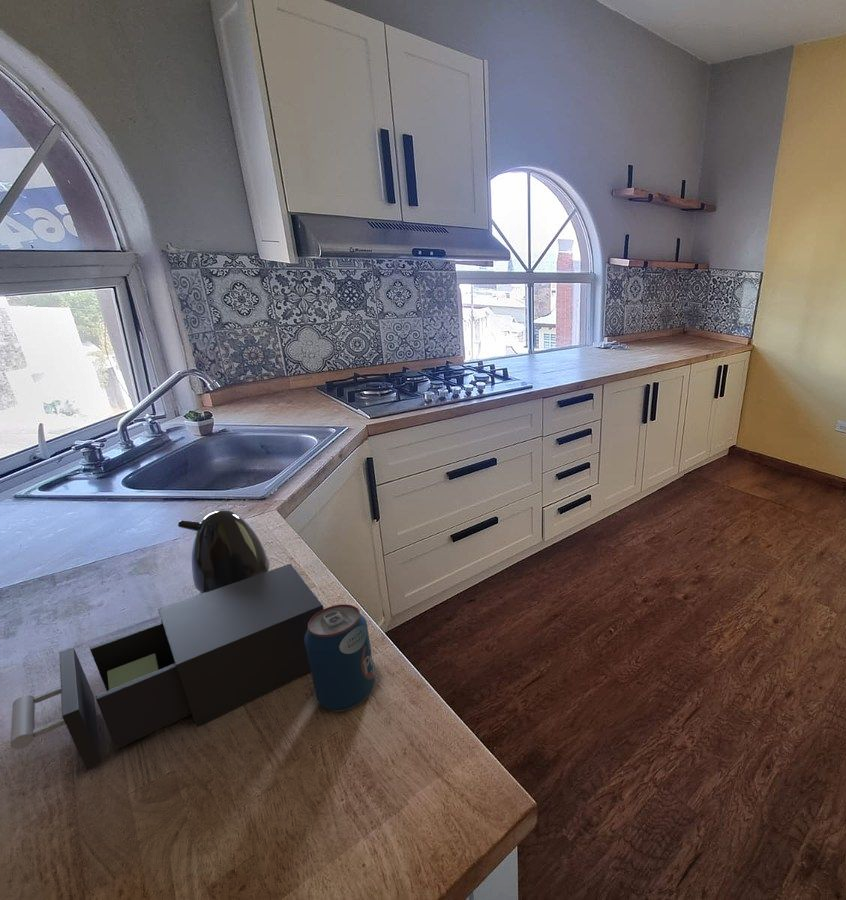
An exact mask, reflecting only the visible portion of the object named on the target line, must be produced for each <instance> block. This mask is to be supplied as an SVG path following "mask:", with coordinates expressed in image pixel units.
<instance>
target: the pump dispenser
mask: <svg viewBox="0 0 846 900" xmlns="http://www.w3.org/2000/svg"><path fill="white" fill-rule="evenodd" d="M177 526H178V527H177V528H181V529H186V530H190V531H194V532H195V536H194V539H193V543H192V548H191V561H190V562H191V563H190V564H191V575H192V581H193V585H194V587H195V589H196V591H198V592H200V593H201V594H204V593H206V592H209V591H212V590H215V589H218V588H221V587H224V586H227V585H230V584H233V583H236V582H239V581H241V580H244V579H247V578H250V577H253V576H256V575H259V574H262V573H265V572H268V571H270V567H271V565H270V564H271V563H270V560H269V556H268V555H267V552H266V549H265V548H264V546H263V544H262V541H261V540H260V538H259V537H258V535H257V533H256V532H255V531H254V530H253V529H252V527H251V526H250V524H249V523H248V522H247V521H246V520H245V519H244V518H243V517H242V516H240V515H239V514H238V513H236V512H234V511H231V510H227V509H220V510H215V511H211V512H210V513H207V514H206V515H205V516H204V517H203V518H202V520H201V521H190V520H179V521H178V523H177Z"/></svg>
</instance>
